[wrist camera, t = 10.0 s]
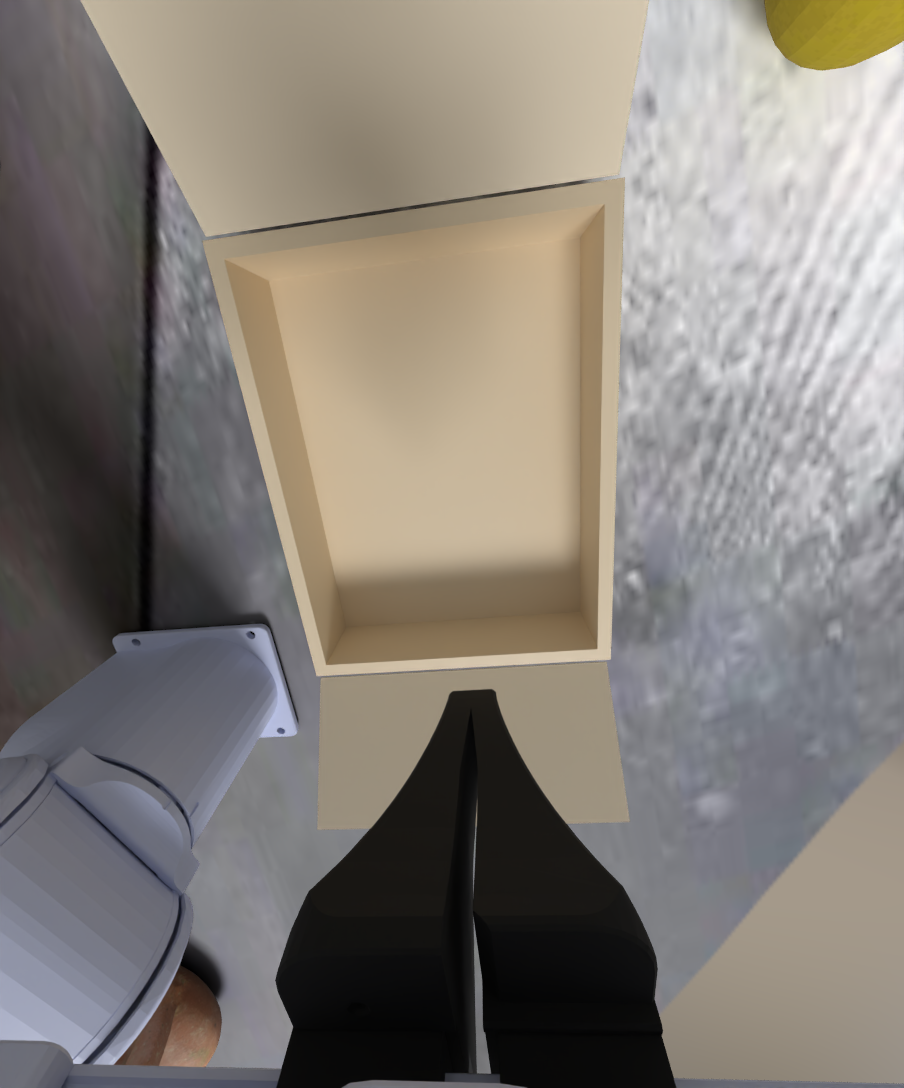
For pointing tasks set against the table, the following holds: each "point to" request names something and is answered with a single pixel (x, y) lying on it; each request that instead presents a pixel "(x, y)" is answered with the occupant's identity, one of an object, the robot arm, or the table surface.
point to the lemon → (834, 30)
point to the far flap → (415, 710)
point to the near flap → (373, 98)
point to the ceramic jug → (179, 1027)
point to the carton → (439, 424)
